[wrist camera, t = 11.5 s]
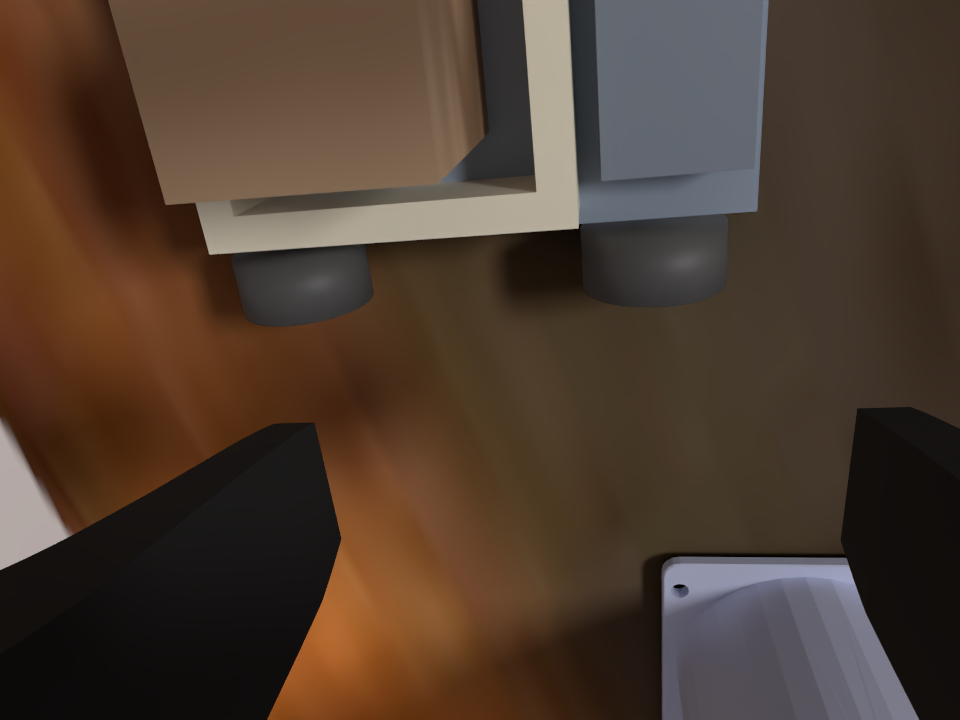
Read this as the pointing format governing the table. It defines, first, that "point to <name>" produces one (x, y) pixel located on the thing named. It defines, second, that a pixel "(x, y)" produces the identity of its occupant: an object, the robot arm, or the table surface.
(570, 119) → the toy truck
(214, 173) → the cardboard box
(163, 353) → the table surface
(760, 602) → the robot arm
